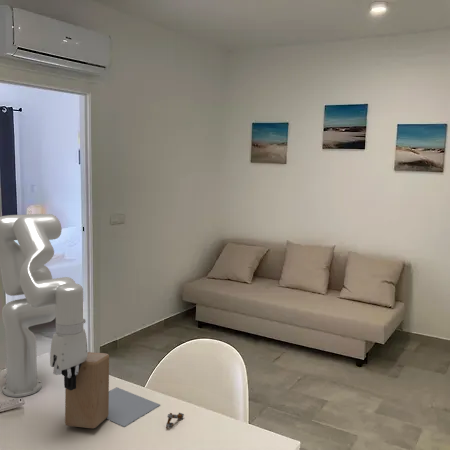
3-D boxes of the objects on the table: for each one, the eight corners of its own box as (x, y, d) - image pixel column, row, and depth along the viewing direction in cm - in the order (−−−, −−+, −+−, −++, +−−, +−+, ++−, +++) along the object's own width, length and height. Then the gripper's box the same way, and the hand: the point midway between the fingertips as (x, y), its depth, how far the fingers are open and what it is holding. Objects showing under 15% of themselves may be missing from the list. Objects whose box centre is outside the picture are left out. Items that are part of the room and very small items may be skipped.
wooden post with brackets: (162, 427, 150) (166, 412, 151) (175, 426, 157) (179, 411, 158) (167, 429, 149) (171, 413, 150) (180, 428, 156) (184, 413, 157)
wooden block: (95, 430, 146) (95, 361, 145) (63, 426, 148) (64, 359, 147) (109, 416, 155) (110, 352, 155) (80, 413, 157) (80, 350, 157)
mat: (79, 406, 162) (79, 406, 161) (116, 387, 175) (116, 387, 175) (124, 427, 151) (124, 426, 151) (160, 405, 164) (160, 404, 164)
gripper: (81, 317, 150) (82, 375, 153) (38, 331, 138) (39, 394, 140) (99, 323, 146) (99, 382, 148) (56, 337, 133) (57, 402, 136)
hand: (70, 388), depth 144 cm, fingers closed
